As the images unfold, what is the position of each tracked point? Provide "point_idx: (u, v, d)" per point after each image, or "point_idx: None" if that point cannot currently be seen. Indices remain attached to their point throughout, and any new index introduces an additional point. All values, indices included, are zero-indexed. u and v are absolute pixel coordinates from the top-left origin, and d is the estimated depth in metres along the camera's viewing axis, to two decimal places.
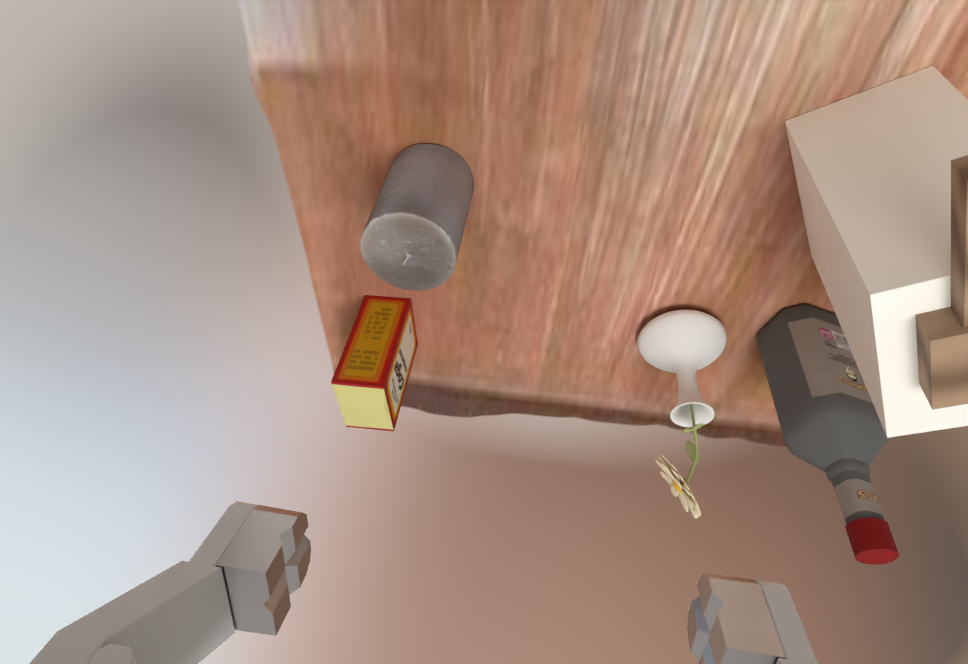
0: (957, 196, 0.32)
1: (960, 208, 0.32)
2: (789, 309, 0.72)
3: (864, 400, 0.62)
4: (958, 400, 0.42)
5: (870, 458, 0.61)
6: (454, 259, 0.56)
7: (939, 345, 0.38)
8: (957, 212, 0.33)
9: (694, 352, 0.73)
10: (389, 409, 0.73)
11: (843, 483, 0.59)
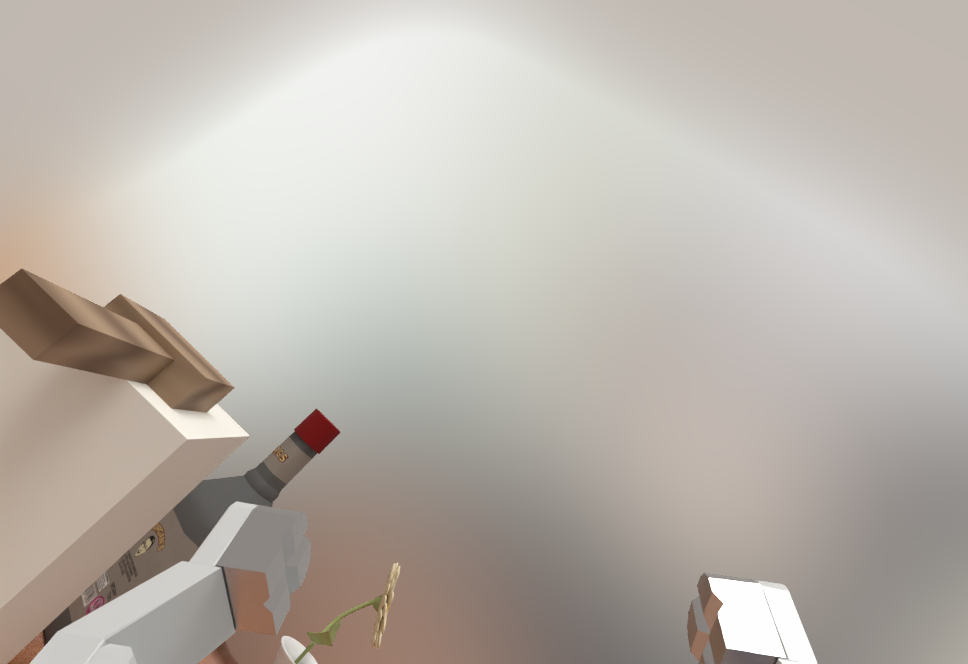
0: (76, 350, 0.24)
1: (91, 345, 0.25)
2: None
3: (175, 514, 0.54)
4: (216, 371, 0.41)
5: None
6: None
7: (202, 373, 0.35)
8: (90, 353, 0.25)
9: None
10: None
11: (280, 477, 0.58)
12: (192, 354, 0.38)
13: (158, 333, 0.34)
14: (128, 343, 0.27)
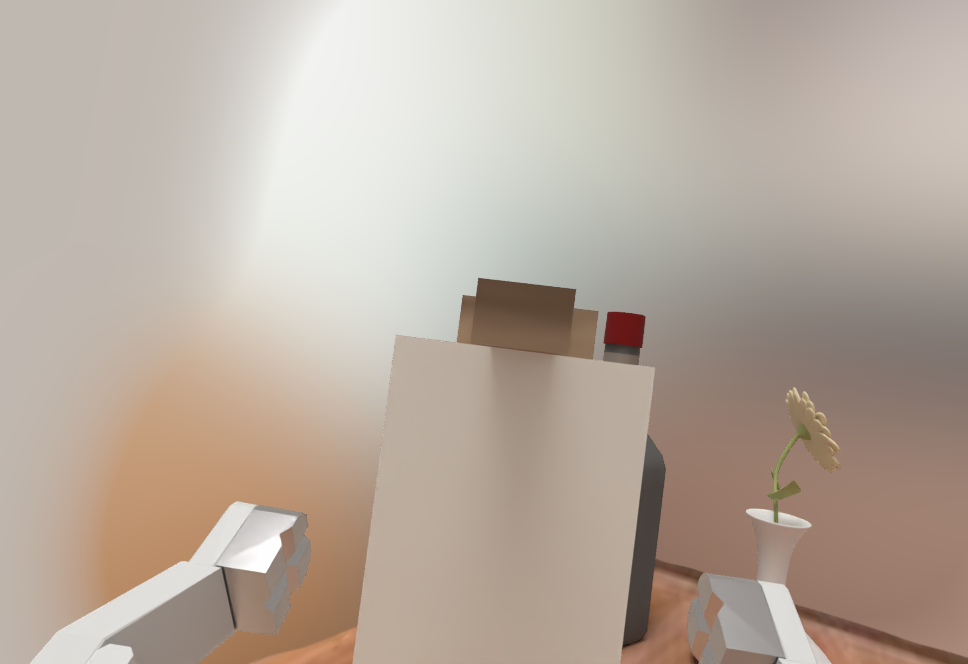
0: None
1: None
2: None
3: None
4: None
5: None
6: None
7: None
8: None
9: None
10: None
11: None
12: None
13: None
14: None
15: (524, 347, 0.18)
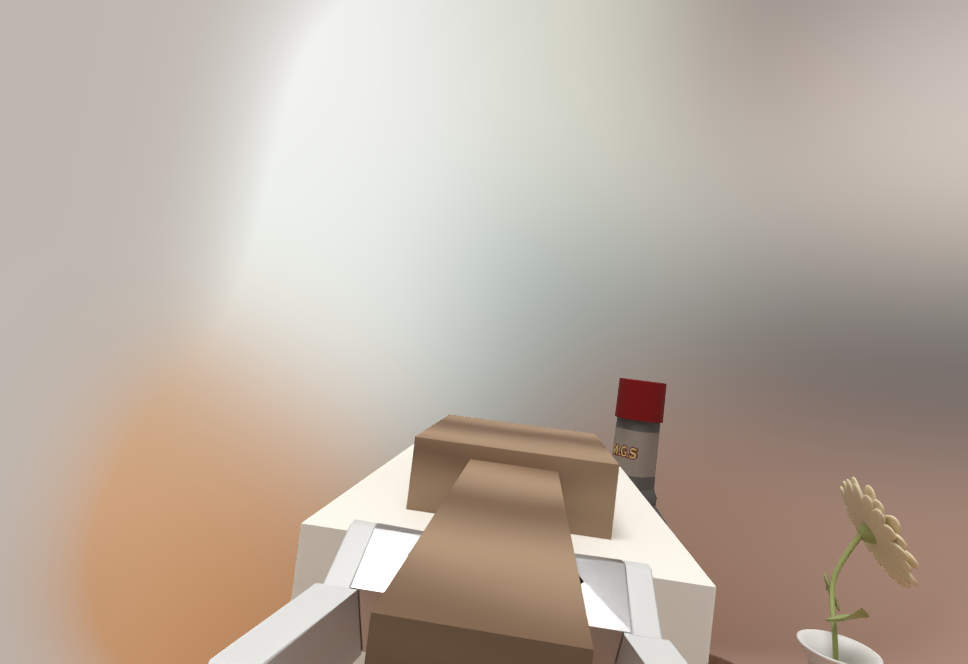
0: None
1: None
2: None
3: None
4: (562, 431, 0.27)
5: None
6: None
7: (602, 459, 0.20)
8: None
9: None
10: None
11: (646, 475, 0.44)
12: (537, 437, 0.24)
13: (506, 451, 0.20)
14: (569, 534, 0.13)
15: None
